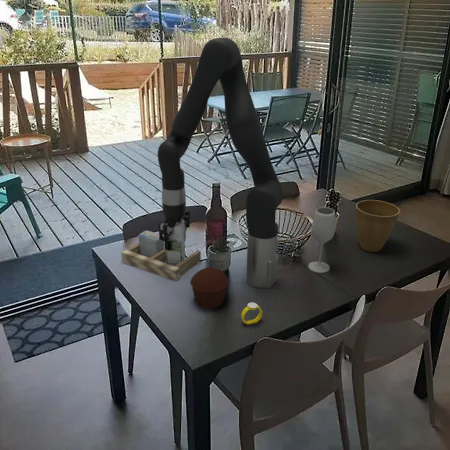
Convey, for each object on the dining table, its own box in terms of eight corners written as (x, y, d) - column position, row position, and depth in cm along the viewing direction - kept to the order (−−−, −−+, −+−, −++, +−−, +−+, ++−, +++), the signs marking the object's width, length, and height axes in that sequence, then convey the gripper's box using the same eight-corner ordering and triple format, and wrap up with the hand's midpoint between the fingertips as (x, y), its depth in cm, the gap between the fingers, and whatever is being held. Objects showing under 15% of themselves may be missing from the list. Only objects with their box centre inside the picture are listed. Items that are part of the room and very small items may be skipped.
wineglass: (334, 267, 165) (341, 210, 156) (322, 275, 160) (329, 217, 151) (315, 259, 170) (321, 204, 161) (303, 267, 165) (308, 210, 155)
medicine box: (165, 257, 170) (164, 235, 166) (157, 262, 166) (155, 240, 162) (147, 251, 173) (146, 229, 170) (139, 256, 170) (137, 234, 166)
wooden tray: (202, 261, 167) (201, 251, 165) (176, 281, 156) (175, 270, 154) (150, 244, 178) (149, 235, 176) (122, 262, 166) (121, 252, 164)
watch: (258, 318, 139) (260, 300, 137) (262, 323, 137) (264, 305, 134) (239, 321, 137) (241, 303, 134) (243, 327, 134) (245, 309, 132)
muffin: (204, 285, 154) (204, 257, 149) (235, 295, 149) (235, 267, 144) (183, 304, 144) (182, 275, 140) (214, 315, 139) (215, 286, 135)
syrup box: (185, 257, 167) (184, 218, 161) (182, 265, 162) (181, 226, 155) (169, 256, 167) (167, 217, 161) (165, 264, 162) (163, 225, 156)
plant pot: (376, 261, 169) (383, 220, 162) (342, 245, 179) (347, 205, 172) (400, 249, 177) (408, 209, 170) (366, 234, 188) (372, 196, 181)
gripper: (169, 210, 147) (171, 257, 155) (196, 195, 159) (196, 240, 166) (150, 204, 151) (153, 251, 158) (177, 190, 162) (179, 234, 169)
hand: (175, 245), depth 162 cm, fingers closed on syrup box, 7 cm apart
